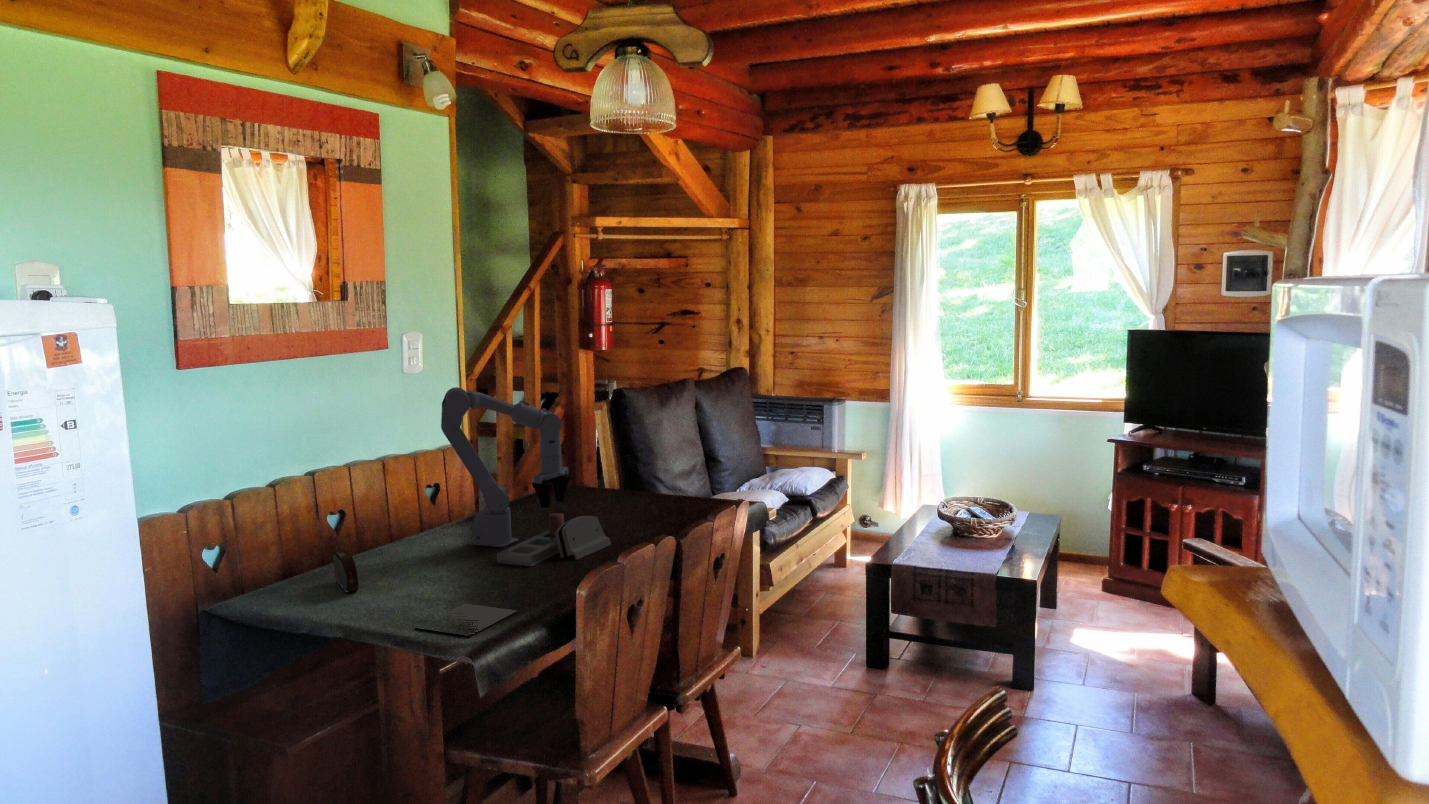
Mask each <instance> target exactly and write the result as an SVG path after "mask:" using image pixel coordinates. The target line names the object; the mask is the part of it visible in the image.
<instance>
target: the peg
mask: <svg viewBox="0 0 1429 804" xmlns="http://www.w3.org/2000/svg"><path fill="white" fill-rule="evenodd" d="M564 516H565V515H564V513H559V512H556V513H550V514H548V530H549V536H550V537H553V538H556V536H555V532H556V531H557V529H558V528H559V527H560V526H561V525H563V524H564V523H565V517H564Z"/></svg>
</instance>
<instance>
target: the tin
mask: <svg viewBox="0 0 1429 804" xmlns="http://www.w3.org/2000/svg"><path fill="white" fill-rule="evenodd" d="M331 557H332V560H333V561H332V562H333V566H334V569H333V570H334V577H335V579H336V582H337V581H338V582H339V583H340V584H341V585H342V587H343V588H344V589H345V590H346V591H352V592H355V591H354V590H357V591H358V590H359V576H358V570H357V566H356V562H355V560H354V558H353V556H352V555H351V554H350V553H349V552H348V550H347V549H345V548H342V549H339V550H338V549H337V550H334V551H333V552H332V556H331ZM338 582H337V583H338ZM342 587H341V588H342Z"/></svg>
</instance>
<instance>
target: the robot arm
mask: <svg viewBox="0 0 1429 804" xmlns="http://www.w3.org/2000/svg"><path fill="white" fill-rule="evenodd" d="M530 404H531V403H530V402H529V401H524V402H521V401H519V402H518V403H516V404H512V403H510V402H506V401H504V400H501V399H499V398H496V397H493V396H491V395H488V394H485V393H482V392H478V391H475V390H471V389H463V388H462V387H457V386H456V387H452V388H450V389H448V390H447V391H446V393H445V394H444V397H443V399H442V402H441V419H440V428H441V432H442V433H443V435H444V436H445V437H446V439H447V441H448V442H449V444H450V445H451V447H452V448H453V450H454V451H455V453H456V455H457V456H458V458H459V459H460V461H461V462H462V464H463V465H464V467H465V468H466V470H467V472H468V473H469V474H470V476H471V477H472V479H473V480H474V482H475V483H476V485H477V486H478V488H479V490H480V491H481V494H482V498H483V501H484V503H485V507H484V508H483V509H481V510H479V511H477V512H476V514H475V515H474V518H473V528H474V529H473V530H474V531H473V532H474V533H473V534H474V542H472V544H473V546H484V547H493V548H494V547H496V548H505V547H507V546H509V545H511V544H513V543H515V542H517V541H519V538H515V537H513V536H512V519H511V508H510V501H511V500H510V496H509V494H508V493H507V490H506V489H505V487H504V486H502V485H501V484H499V483H498V482H496V480H495V479H494V477H493V476H492V474H491V472H490V471H489V470H488V468H487V467H486V465H485V463H484V461H483V460H482V459H481V458H480V456H479V454H478V452H477V451H476V449H475V448H474V446H473V445H472V443H471V442H470V440H469V438H468V437H467V435H466V434H465V433H464V431H463V429H462V428H461V427H462V423H463V420H464V417H465V415H466V414H467V412H468V411H469V409H471V410H473V411H474V410H478V409H481V408H482V409H487V410H489V411H493V412H497V413H500V414H503V415H507V416H510V418H511V421H512V422H513V423H516V424H517V425H518V424H519V425H522V426H523V427H527V428H531V429H533V430H538V429H539V457H540V458H539V459H540V461H539V462H540V472H539V473H537V474H536V475H535V476H533V481H532V482H531V486H532V487H533V489H534V491H535V493H536V494H537V497H538V500H539V503H540V506H541V508H543V509H544V508H545V509H548V508H550V505H551V492H552V488H553V489H554V497H555V502H557V503H558V502H559V503H564V502H565V498H566V493H567V488H568V485H569V483H570V481H571V479H572V475H570V474H569V467H568V466H563V465H562V462H563V461H562V443H561V441H562V440H561V433H560V431H561V430H562V427H563V423H562V421H561V418H560V417H559V416H558V415H557V414H556V413H554V412H552V411H550V410H547V409H546V408H544V407H542V409H541V408H538V407H536V406H533V405H530ZM549 480H551V482H548V481H549Z"/></svg>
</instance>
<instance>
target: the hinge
mask: <svg viewBox="0 0 1429 804" xmlns="http://www.w3.org/2000/svg"><path fill="white" fill-rule="evenodd" d="M601 525H602V524H601V523H600V520H599V517H597V516H594V515H581V516H577V517H574V518H571V519H569V520H567V521H566V522H564V524H563V525H561V526H560V527H559V528H558V529H557V531H556V532H555V536H556V540H557V545H558V549H559V553H558V554H559V556H560V558H561V559H563V558H565V557H570V556H573V557H574V560H576V561H577V560H580V559H581V558H584V557H586V556H588V555H591V554H593V553H595V552H598V551H600V550H602V549H604V548H606V547H609V546H611V545H612V542H611V540H610V537H608V536H607V535H606V534H605V532H604V529H603V527H602V526H601Z"/></svg>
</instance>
